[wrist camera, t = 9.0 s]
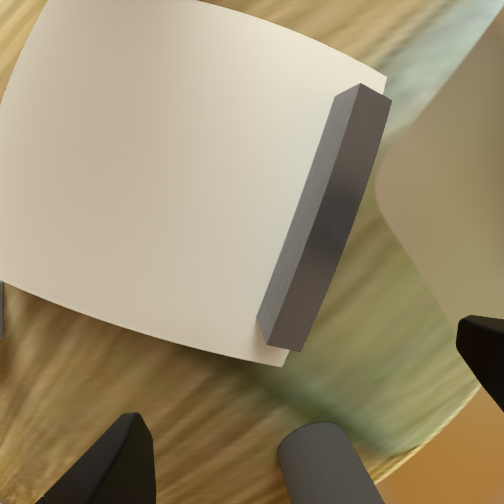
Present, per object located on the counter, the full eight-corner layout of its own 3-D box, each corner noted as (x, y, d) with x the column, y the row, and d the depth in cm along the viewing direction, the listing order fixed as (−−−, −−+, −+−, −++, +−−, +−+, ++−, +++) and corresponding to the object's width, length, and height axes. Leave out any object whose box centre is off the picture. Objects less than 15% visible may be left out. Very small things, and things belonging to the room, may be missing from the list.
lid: (63, -9, 9) (39, -38, 6) (378, 81, 13) (416, 64, 10) (-21, 262, 12) (-57, 281, 9) (278, 358, 15) (294, 397, 12)
